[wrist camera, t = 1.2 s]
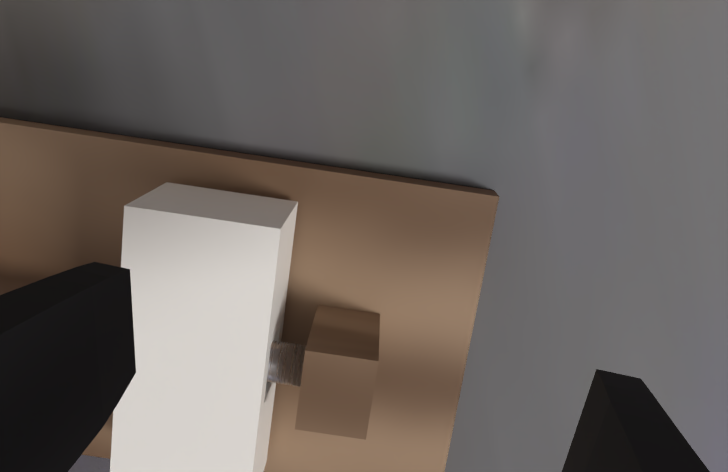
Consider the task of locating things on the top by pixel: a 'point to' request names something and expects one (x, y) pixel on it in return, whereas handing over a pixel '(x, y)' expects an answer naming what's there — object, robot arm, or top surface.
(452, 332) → the guide board
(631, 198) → the top surface
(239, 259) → the sleeve
